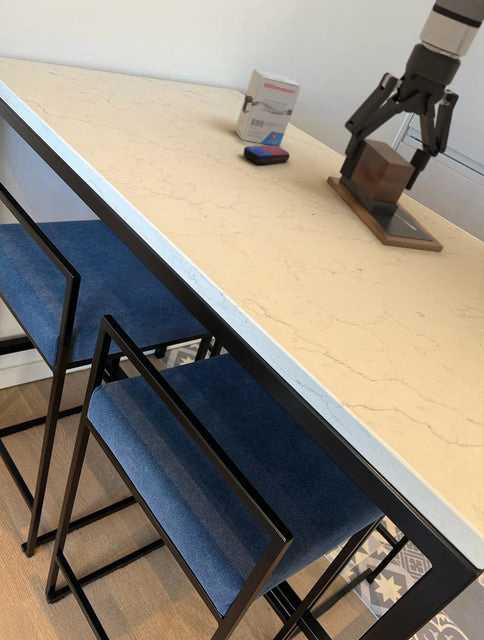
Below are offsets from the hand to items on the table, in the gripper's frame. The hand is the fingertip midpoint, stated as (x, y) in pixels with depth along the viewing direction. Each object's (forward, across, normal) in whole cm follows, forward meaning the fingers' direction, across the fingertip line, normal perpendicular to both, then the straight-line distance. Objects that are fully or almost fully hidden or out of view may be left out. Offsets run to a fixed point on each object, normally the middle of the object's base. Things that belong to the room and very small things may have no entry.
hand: (375, 181), depth 99 cm
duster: (+3, 0, 0) cm, 3 cm away
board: (+4, -2, +3) cm, 6 cm away
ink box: (+5, +13, -23) cm, 27 cm away
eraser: (+5, +15, -13) cm, 20 cm away
